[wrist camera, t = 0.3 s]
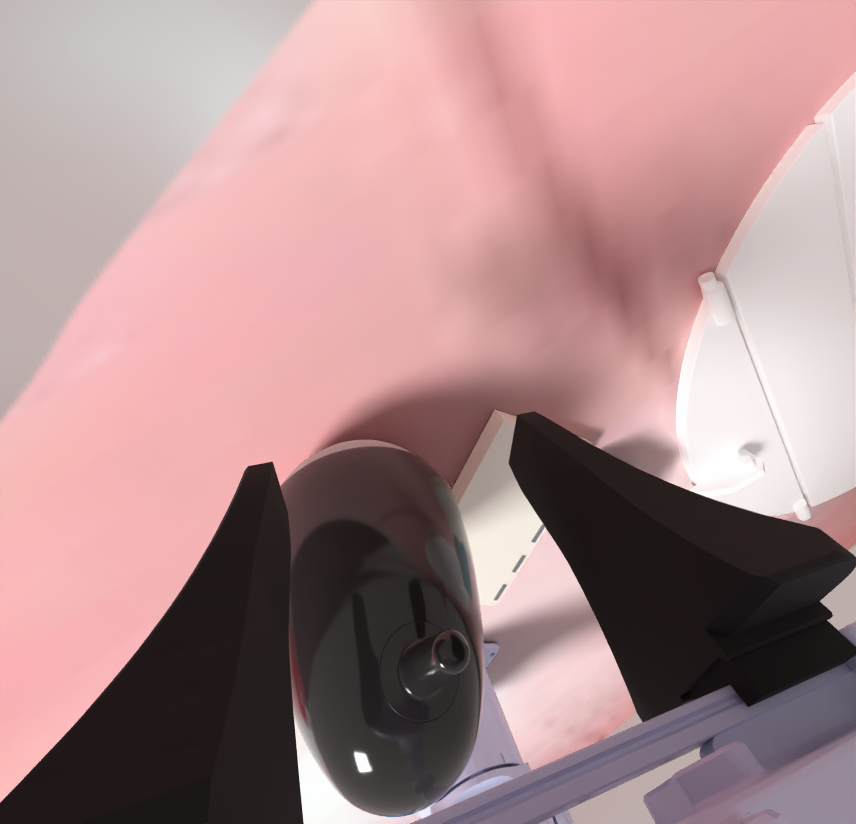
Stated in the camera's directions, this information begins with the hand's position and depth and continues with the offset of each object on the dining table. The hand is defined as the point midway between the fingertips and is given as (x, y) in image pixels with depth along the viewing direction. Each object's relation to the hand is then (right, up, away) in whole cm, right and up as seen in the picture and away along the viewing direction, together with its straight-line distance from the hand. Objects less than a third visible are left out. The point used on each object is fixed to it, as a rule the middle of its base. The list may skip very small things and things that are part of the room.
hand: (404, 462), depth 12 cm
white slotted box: (+5, -6, +17) cm, 19 cm away
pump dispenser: (-4, -3, +13) cm, 14 cm away
